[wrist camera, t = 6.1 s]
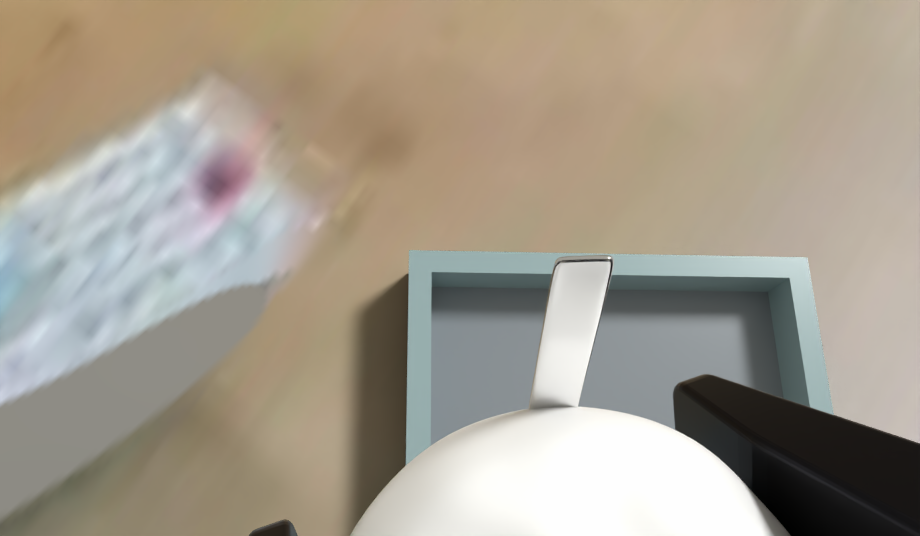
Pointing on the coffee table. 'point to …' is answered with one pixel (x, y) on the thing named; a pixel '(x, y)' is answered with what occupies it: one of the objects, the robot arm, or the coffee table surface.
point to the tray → (605, 334)
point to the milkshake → (567, 456)
